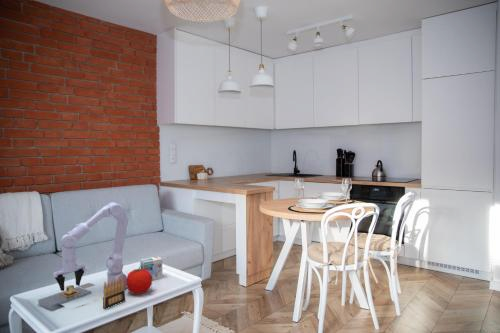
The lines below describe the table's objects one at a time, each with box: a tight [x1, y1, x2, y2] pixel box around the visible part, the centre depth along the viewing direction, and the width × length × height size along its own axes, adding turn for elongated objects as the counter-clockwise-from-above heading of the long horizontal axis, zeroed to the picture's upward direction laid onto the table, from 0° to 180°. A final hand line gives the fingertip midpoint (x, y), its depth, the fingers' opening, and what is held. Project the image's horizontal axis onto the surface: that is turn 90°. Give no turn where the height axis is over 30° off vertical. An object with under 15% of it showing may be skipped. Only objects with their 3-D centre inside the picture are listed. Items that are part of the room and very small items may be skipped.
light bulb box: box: [139, 255, 163, 281], centre depth 202 cm, size 11×7×11 cm, turn 123°
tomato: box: [126, 266, 153, 295], centre depth 182 cm, size 12×13×12 cm
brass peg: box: [65, 284, 75, 296], centre depth 176 cm, size 4×4×6 cm
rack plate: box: [37, 286, 92, 312], centre depth 174 cm, size 12×19×3 cm, turn 146°
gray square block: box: [77, 282, 95, 290], centre depth 189 cm, size 6×6×2 cm
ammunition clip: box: [102, 276, 126, 310], centre depth 168 cm, size 11×2×12 cm, turn 148°
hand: (70, 287), depth 176 cm, fingers open, 7 cm apart
